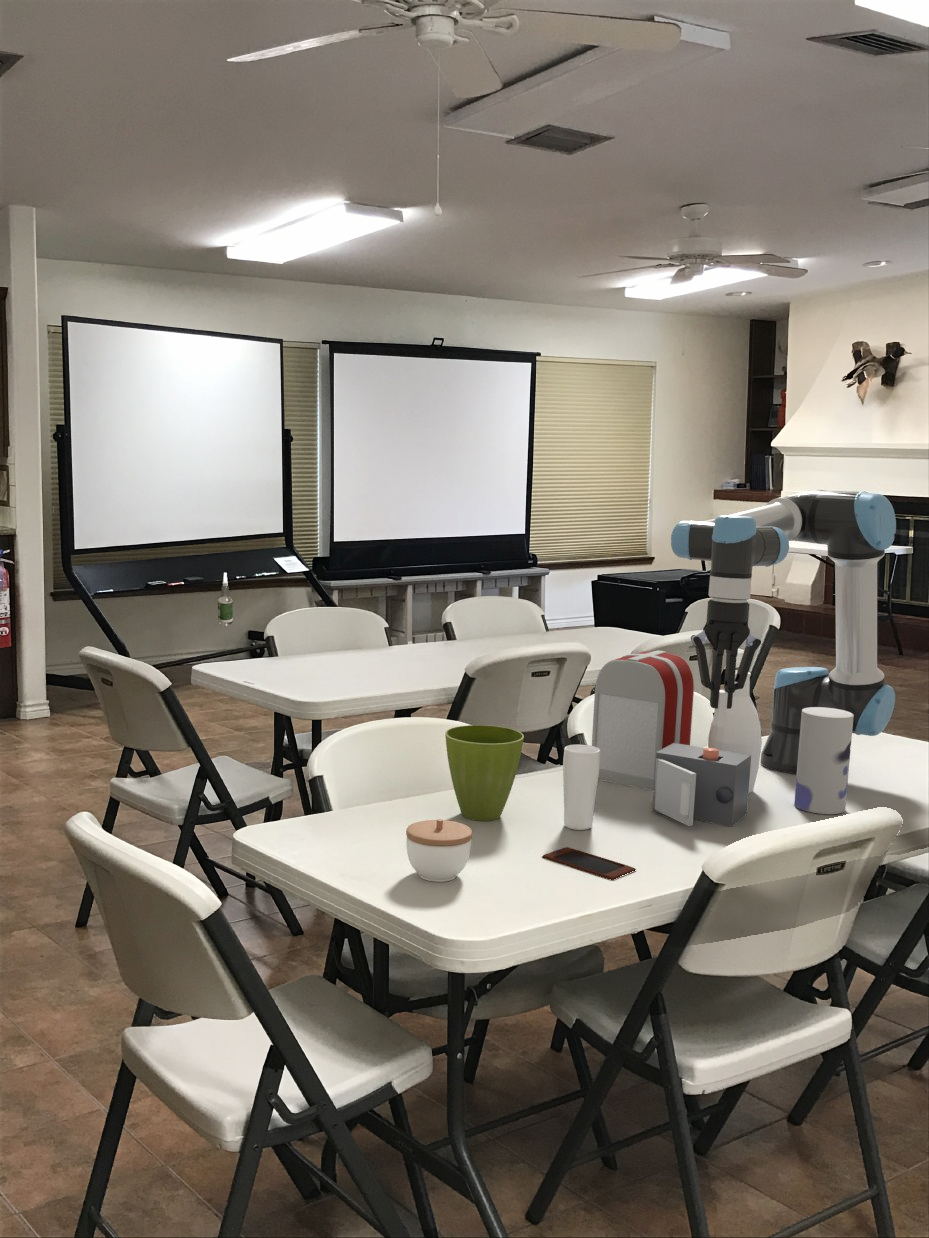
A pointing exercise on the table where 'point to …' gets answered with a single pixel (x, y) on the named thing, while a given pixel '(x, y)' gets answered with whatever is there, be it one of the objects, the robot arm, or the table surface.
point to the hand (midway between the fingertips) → (719, 725)
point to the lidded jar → (438, 848)
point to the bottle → (740, 730)
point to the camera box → (714, 782)
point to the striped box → (640, 714)
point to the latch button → (711, 754)
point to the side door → (674, 791)
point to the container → (823, 760)
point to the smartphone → (588, 863)
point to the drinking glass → (580, 785)
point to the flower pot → (483, 768)
